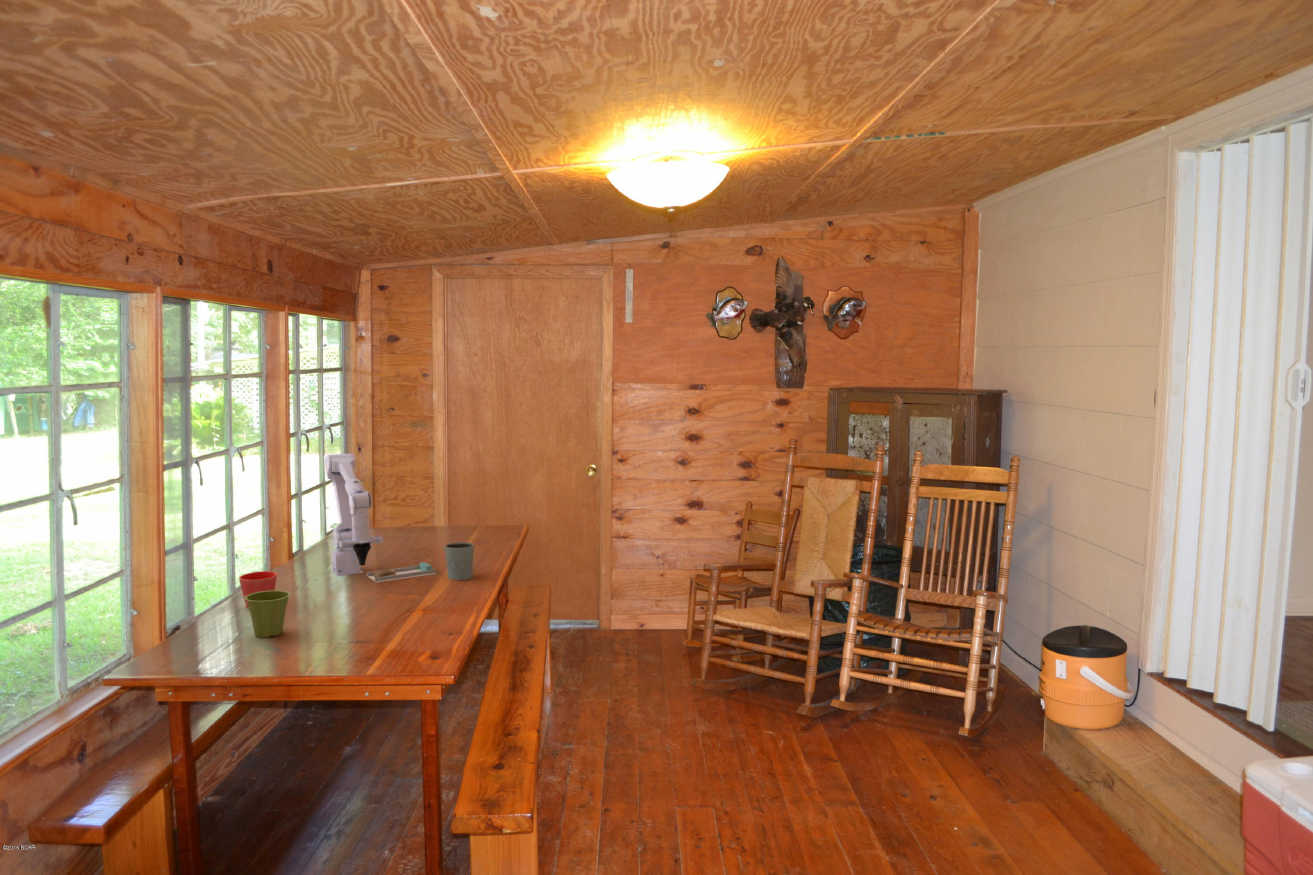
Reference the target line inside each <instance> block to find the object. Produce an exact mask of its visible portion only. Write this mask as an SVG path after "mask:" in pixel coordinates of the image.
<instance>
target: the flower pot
mask: <svg viewBox="0 0 1313 875" xmlns="http://www.w3.org/2000/svg"><path fill="white" fill-rule="evenodd" d="M277 577H278V575H277V573H276V572H273V571H268V570H267V571H265V570H263V571H254V572H250V573H249V572H248V573H245V574H242V575H240V576H239V577H238V581H239V584H240V588H241V593H242V596H243V601H244V603H245V607H246V608H247V609H249V607H248V603H247V600H245V597H246V596H247V595H249V594H252V593H256V592H262V591H274V590H276V584H277Z"/></svg>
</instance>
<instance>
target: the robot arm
mask: <svg viewBox="0 0 1313 875" xmlns="http://www.w3.org/2000/svg"><path fill="white" fill-rule="evenodd" d="M324 467H325V468H324V469H325V474H326V476H327V479H329V481H332V485H333V490H334V491H333V492H334V497H335V502H336V508H337V514H338V521H339V523H338V524H337V525H336V526H335V527H334V528H333V531H332V536H333V537H332V542H333V547H334V548H335V549H336V550H333V551H331V552H332V553H331V573H332V574H334V575H335V576H337V577H341V576H348V575H356V574H363V573H364V571H363V570H361V566H365V565H366V561H367V557H368V554H369V552H370V550H371V547H372V545H371V544H377V543H381V544H383V543H384V537H383V536H371V535H370V534H371V532H370V531H371V529H370V508H371V507H372V496H371V494H370V493H371V492H370V491H368V490H365V487H364V486H363V484H362V480H360V478H357V476H356V474H355V468H356V467H357V460H356V456H355V454H354V453H353V452H350V453H340V454H339V453H338V454H326V456H325V458H324Z"/></svg>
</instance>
